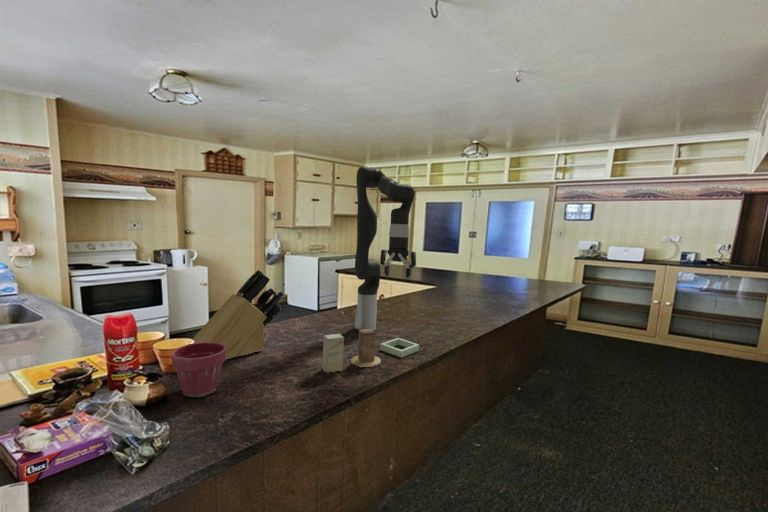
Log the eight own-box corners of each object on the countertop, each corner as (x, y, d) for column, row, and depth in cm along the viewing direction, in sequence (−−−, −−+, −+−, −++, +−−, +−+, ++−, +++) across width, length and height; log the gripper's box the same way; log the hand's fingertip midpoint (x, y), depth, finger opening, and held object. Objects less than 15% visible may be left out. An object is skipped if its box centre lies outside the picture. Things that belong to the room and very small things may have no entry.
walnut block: (358, 358, 137) (359, 329, 136) (369, 356, 139) (370, 328, 138) (363, 363, 133) (363, 333, 132) (374, 361, 135) (375, 332, 134)
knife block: (285, 346, 148) (286, 270, 145) (192, 370, 123) (190, 279, 119) (271, 339, 156) (271, 267, 152) (180, 360, 130) (178, 274, 127)
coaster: (345, 364, 133) (345, 362, 133) (359, 354, 143) (359, 352, 143) (373, 370, 129) (373, 368, 129) (385, 359, 139) (385, 357, 139)
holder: (380, 349, 149) (380, 343, 148) (398, 343, 157) (398, 337, 157) (401, 357, 141) (401, 351, 141) (419, 350, 149) (419, 344, 149)
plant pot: (207, 376, 119) (207, 338, 118) (236, 388, 112) (236, 347, 111) (162, 393, 107) (161, 351, 105) (191, 408, 100) (190, 362, 98)
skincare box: (326, 374, 124) (326, 339, 123) (322, 369, 128) (322, 335, 127) (343, 371, 127) (344, 337, 126) (339, 366, 131) (339, 333, 130)
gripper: (419, 236, 145) (417, 277, 146) (385, 234, 150) (384, 273, 152) (413, 237, 138) (411, 279, 139) (378, 235, 143) (376, 276, 145)
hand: (397, 276), depth 146 cm, fingers open, 8 cm apart
